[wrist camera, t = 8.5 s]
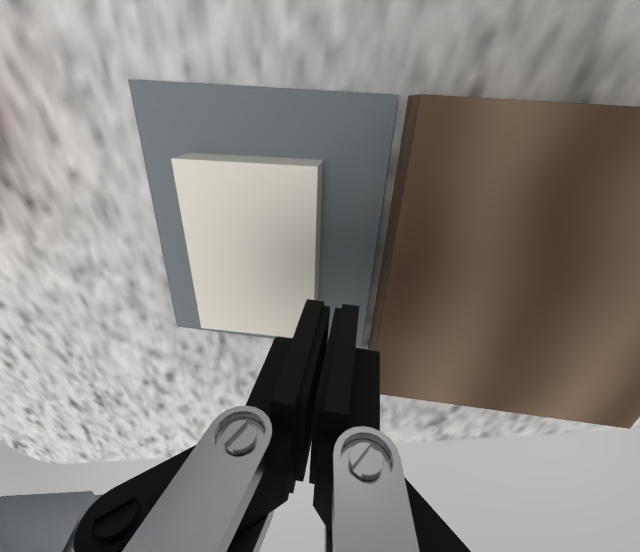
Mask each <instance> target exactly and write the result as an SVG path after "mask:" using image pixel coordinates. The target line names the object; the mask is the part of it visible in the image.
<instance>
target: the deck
mask: <svg viewBox="0 0 640 552" xmlns="http://www.w3.org/2000/svg"><path fill="white" fill-rule="evenodd" d="M368 350H374V351H379V352H380V394H382V395H390V396H397V397H404V398H411V399H419V400H426V401H433V402H440V403H448V404H455V405H462V406H469V407H477V408H484V409H491V410H498V411H506V412H513V413H520V414H527V415H535V416H542V417H549V418H556V419H564V420H571V421H578V422H585V423H593V424H600V425H607V426H614V427H622V428H629V429H630V428H631V427H632V425H633V424H634V423H635V422H636V420H637V419H638V418H639V416H640V107H632V106H615V105H597V104H580V103H562V102H545V101H527V100H510V99H492V98H475V97H457V96H439V95H422V94H421V95H411V96H409V97H408V103H407V109H406V115H405V122H404V128H403V134H402V140H401V147H400V153H399V159H398V165H397V172H396V178H395V184H394V190H393V197H392V203H391V209H390V215H389V222H388V228H387V234H386V240H385V247H384V253H383V259H382V265H381V272H380V278H379V284H378V290H377V296H376V303H375V309H374V315H373V321H372V328H371V334H370V340H369V346H368Z"/></svg>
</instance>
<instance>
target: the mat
mask: <svg viewBox="0 0 640 552" xmlns="http://www.w3.org/2000/svg"><path fill="white" fill-rule="evenodd" d="M128 81H129V86H130V91H131V96H132V101H133V106H134V111H135V116H136V121H137V126H138V131H139V136H140V141H141V146H142V151H143V156H144V161H145V166H146V172H147V177H148V182H149V187H150V192H151V197H152V202H153V207H154V212H155V217H156V222H157V227H158V232H159V237H160V242H161V247H162V252H163V257H164V262H165V267H166V272H167V278H168V283H169V288H170V293H171V298H172V303H173V308H174V313H175V318H176V323H177V326H178V327H186V328H194V329H202V330H210V331H218V332H226V333H233V334H241V335H249V336H257V337H265V338H273V339H275V338H276V337H277V336H270V335H261V334H252V333H243V332H233V331H224V330H215V329H206V328H201V324H200V318H199V313H198V307H197V302H196V296H195V290H194V285H193V279H192V274H191V268H190V262H189V257H188V251H187V245H186V240H185V234H184V229H183V223H182V217H181V212H180V206H179V201H178V195H177V189H176V184H175V178H174V172H173V167H172V161H171V158H174V157H178V156H181V155H184V154H188V153H209V154H227V155H246V156H264V157H282V158H300V159H319V160H323V175H322V204H321V233H320V262H319V290H318V300H319V301H324V306H329V307H330V317H329V329H328V339H329V334H330V329H331V325H332V320H333V315H334V311H335V307H337V308H342V304H349V305H356V306H360V307H359V317H358V327H357V337H356V347H355V348H360V349H361V346H362V340H363V333H364V326H365V319H366V312H367V306H368V299H369V292H370V285H371V278H372V271H373V265H374V258H375V251H376V244H377V237H378V231H379V224H380V217H381V210H382V203H383V197H384V190H385V183H386V176H387V169H388V162H389V156H390V149H391V142H392V135H393V128H394V122H395V115H396V108H397V101H398V95H389V94H372V93H354V92H337V91H319V90H302V89H285V88H267V87H250V86H233V85H215V84H198V83H180V82H163V81H146V80H128ZM286 338H288V337H286ZM327 343H328V342H327Z"/></svg>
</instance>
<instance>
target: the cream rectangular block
mask: <svg viewBox="0 0 640 552" xmlns="http://www.w3.org/2000/svg"><path fill="white" fill-rule="evenodd" d="M171 161H172V167H173V172H174V178H175V184H176V189H177V195H178V201H179V206H180V212H181V217H182V223H183V229H184V234H185V240H186V245H187V251H188V257H189V262H190V268H191V274H192V279H193V285H194V290H195V296H196V302H197V307H198V313H199V318H200V324H201V328H206V329H215V330H224V331H233V332H243V333H252V334H261V335H270V336H280V337H288V338H293V336H294V333H295V330H296V327H297V325H298V322H299V319H300V316H301V314H302V311H303V308H304V305H305V303H306V300H307V299H311V300H318V290H319V262H320V233H321V204H322V175H323V160H319V159H300V158H282V157H264V156H246V155H227V154H209V153H188V154H184V155H181V156H178V157H174V158H171Z"/></svg>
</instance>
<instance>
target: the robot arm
mask: <svg viewBox="0 0 640 552" xmlns="http://www.w3.org/2000/svg"><path fill="white" fill-rule="evenodd" d="M359 307H360V306H356V305H349V304H342V308H337V307H335V311H334V315H333V320H332V325H331V329H330V334H329V339H328V329H329V317H330V307H329V306H324V301H319V300H311V299H307V300H306V303H305V305H304V308H303V311H302V314H301V316H300V319H299V322H298V325H297V327H296V330H295V333H294V336H293V338H286V337H280V336H277V337H276V338H275V339H274V341H273V344H272V346H271V348H270V351H269V353H268V355H267V358H266V360H265V362H264V364H263V367H262V369H261V371H260V374H259V376H258V378H257V381H256V383H255V385H254V387H253V390H252V392H251V394H250V397H249V399H248V401H247V404H246V406H238V407H234V408H231V409H229V410H226V411H225V412H223V413H222V414H220V415H219V416H218V417H217V418H216V419H215V420H214V421H213V422H212V424H211V425H210V427H209V428H208V429H207V431H206V432H205V434H204V435H203V437H202V438H201V439H200V441H199V442H198V444H197V445H195V446H193V447H191V448H189V449H188V450H186V451H184V452H182V453H180V454H178V455H176V456H174V457H172V458H170V459H168V460H167V461H164V462H163V463H161V464H159V465H157V466H155V467H153V468H151V469H149V470H147V471H145V472H144V473H142V474H140V475H138V476H136V477H134V478H132V479H130V480H128V481H126V482H124V483H123V484H120V485H118V486H117V487H115V488H113V489H111V490H110V491H108V492H107V493H105V494H104V495H94V494H93V492H92V491H87V492H70V493H69V492H68V493H51V494H32V495H16V496H2V497H0V552H259V550H260V547H261V545H262V542H263V540H264V537H265V534H266V532H267V530H268V527H269V525H270V522H271V520H272V517H273V513H274V509H276V508H277V507H279V506H280V505H281V504H283V503H284V502H285V501H287V500H288V495H289V493H293V491H294V487H295V482H296V480H297V481H303V479H304V476H305V470H306V465H307V461H308V455H309V451H310V446H311V460H310V477H309V483H312V484H315V486H314V500H313V506H314V508H315V510H316V511H317V513H318V514H319V516H320V518H321V519H322V521H323V522H324V524H325V552H471V551H470V550H469V549H468V548H467V547H466V546H465V544H464V543H463V542H462V541H461V540H460V539H459V538H458V537H457V535H456V534H455V533H454V532H453V531H452V530H451V529H450V528H449V527H448V525H447V524H446V523H445V522H444V521H443V520H442V519H441V518H440V517H439V516H438V514H437V513H436V512H435V511H434V510H433V509H432V507H431V506H430V505H429V504H428V503H427V502H426V501H425V500H424V498H422V496H421V495H420V494H419V493H418V492H417V491H416V490H415V489H414V487H413V486H412V485H411V484H410V483H409V482H408V481H407V480H406V478H405V477H404V473H403V469H402V464H401V459H400V456H399V453H398V450H397V448H396V446H395V445H394V443H393V442H392V441H391V439H390V438H388V437H387V436H386V435H385V434H384V433H382V432H380V352H379V351H374V350H367V349H360V348H355V347H356V337H357V327H358V317H359ZM327 342H328V343H327ZM311 441H312V444H311Z"/></svg>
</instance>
